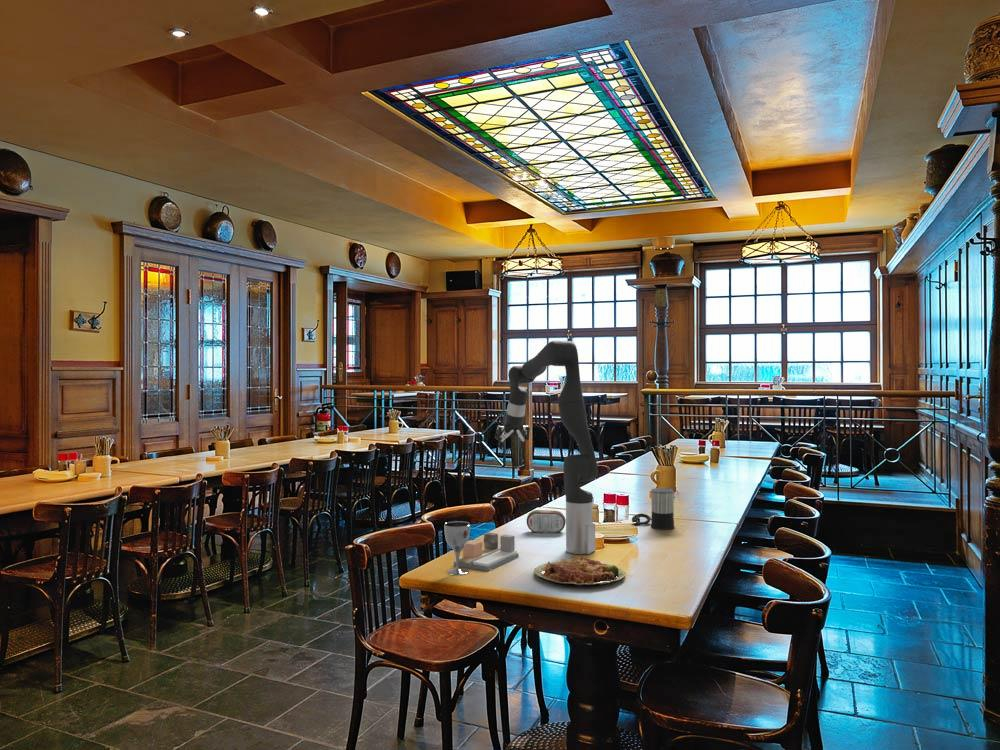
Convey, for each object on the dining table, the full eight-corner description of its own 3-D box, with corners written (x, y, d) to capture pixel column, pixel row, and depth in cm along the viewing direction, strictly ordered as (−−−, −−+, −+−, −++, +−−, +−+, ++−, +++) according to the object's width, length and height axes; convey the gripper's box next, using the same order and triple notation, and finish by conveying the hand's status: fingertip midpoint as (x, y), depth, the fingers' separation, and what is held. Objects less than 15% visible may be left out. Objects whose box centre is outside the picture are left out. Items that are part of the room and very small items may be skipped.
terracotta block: (482, 555, 227) (482, 541, 227) (474, 558, 223) (474, 544, 223) (470, 553, 229) (470, 540, 229) (463, 556, 225) (462, 542, 225)
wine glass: (446, 568, 219) (445, 521, 219) (471, 568, 219) (470, 521, 219) (443, 575, 211) (442, 526, 211) (469, 576, 211) (468, 526, 211)
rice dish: (558, 563, 230) (557, 546, 230) (638, 571, 216) (638, 553, 216) (517, 586, 205) (516, 567, 205) (605, 596, 191) (604, 577, 192)
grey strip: (516, 553, 232) (516, 536, 232) (487, 566, 216) (487, 548, 216) (502, 551, 235) (502, 534, 235) (472, 564, 219) (472, 545, 219)
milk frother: (677, 529, 270) (676, 491, 270) (636, 530, 270) (636, 491, 270) (668, 521, 284) (668, 485, 284) (630, 522, 284) (630, 485, 284)
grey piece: (499, 550, 235) (499, 533, 235) (470, 563, 220) (470, 545, 220) (486, 548, 238) (486, 532, 238) (456, 561, 223) (455, 543, 223)
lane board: (518, 557, 232) (518, 550, 232) (488, 571, 216) (488, 564, 216) (485, 552, 239) (485, 545, 239) (453, 565, 223) (453, 558, 223)
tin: (565, 531, 268) (565, 510, 268) (565, 533, 265) (565, 511, 265) (526, 531, 269) (526, 509, 269) (526, 533, 266) (526, 511, 266)
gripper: (502, 416, 278) (497, 453, 282) (535, 416, 283) (529, 452, 288) (496, 409, 284) (491, 445, 289) (528, 409, 289) (522, 445, 294)
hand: (510, 449), depth 288 cm, fingers open, 8 cm apart
